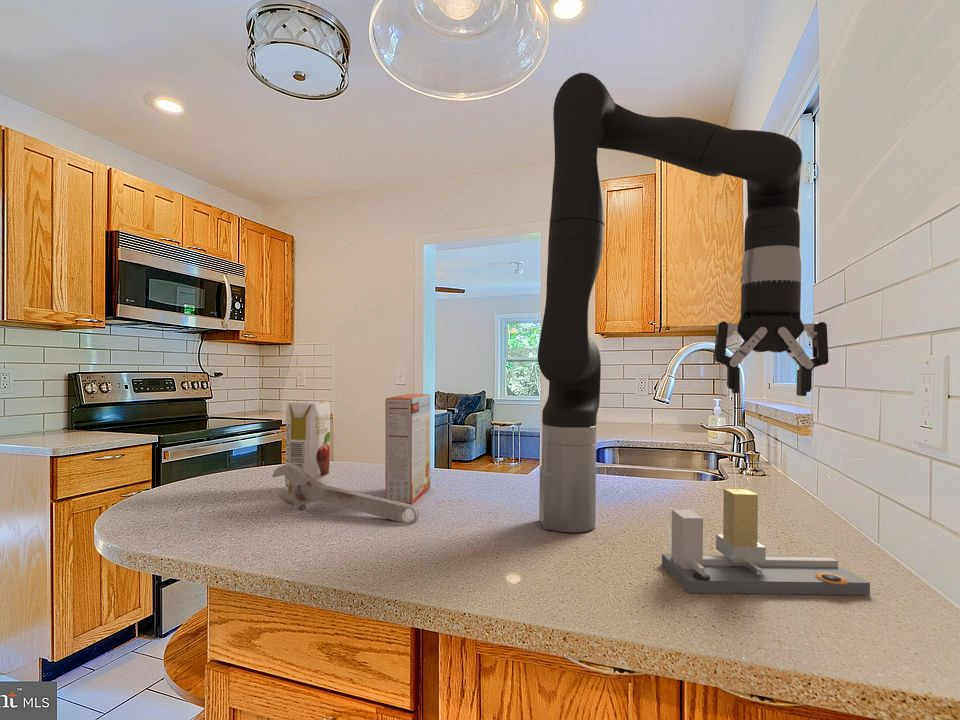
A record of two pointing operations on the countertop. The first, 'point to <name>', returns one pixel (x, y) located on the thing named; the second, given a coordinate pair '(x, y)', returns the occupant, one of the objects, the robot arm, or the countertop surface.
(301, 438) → the juice carton
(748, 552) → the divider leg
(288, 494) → the wrench
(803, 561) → the bolt plate
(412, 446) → the cracker box
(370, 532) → the countertop surface
